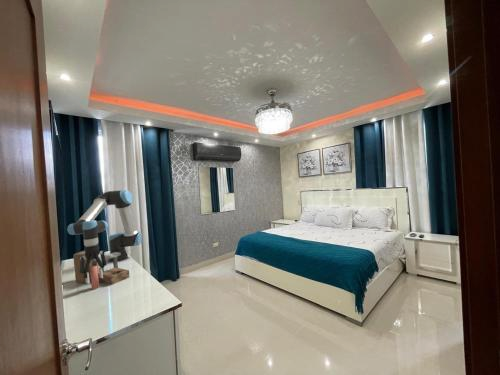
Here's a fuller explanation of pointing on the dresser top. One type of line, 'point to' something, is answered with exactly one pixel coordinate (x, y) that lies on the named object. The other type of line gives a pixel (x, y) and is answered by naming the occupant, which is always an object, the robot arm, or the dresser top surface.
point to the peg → (94, 277)
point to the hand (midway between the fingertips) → (94, 280)
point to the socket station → (112, 270)
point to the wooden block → (78, 275)
